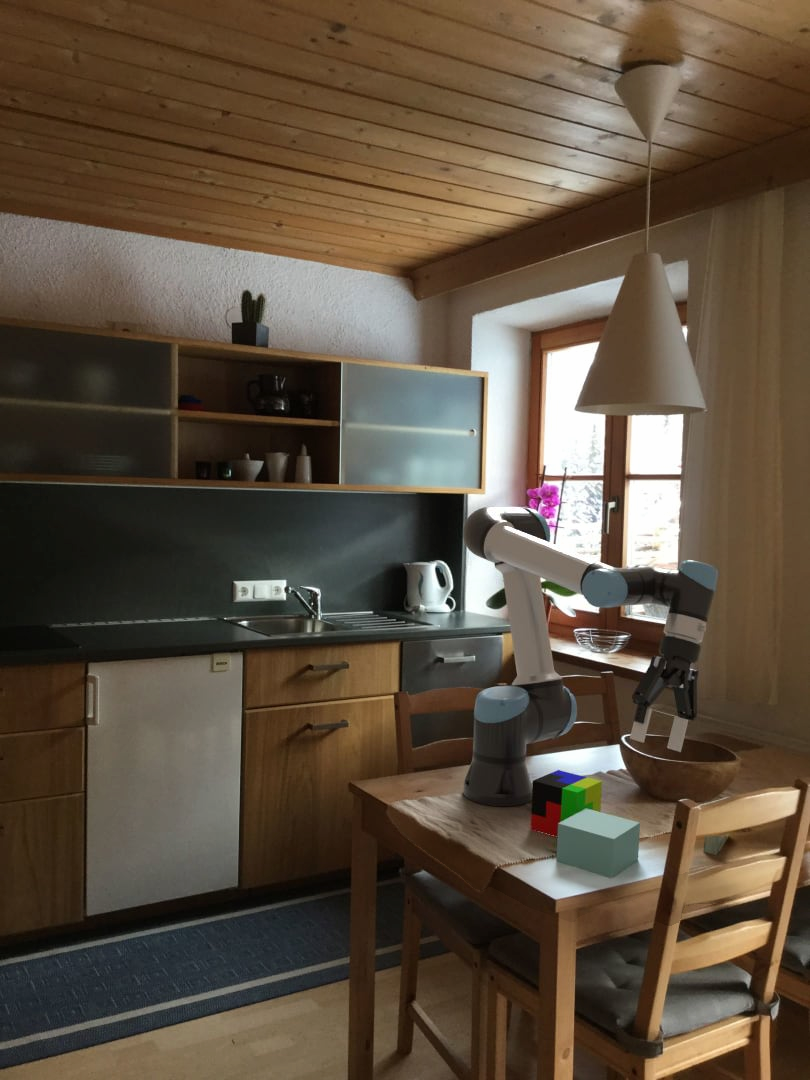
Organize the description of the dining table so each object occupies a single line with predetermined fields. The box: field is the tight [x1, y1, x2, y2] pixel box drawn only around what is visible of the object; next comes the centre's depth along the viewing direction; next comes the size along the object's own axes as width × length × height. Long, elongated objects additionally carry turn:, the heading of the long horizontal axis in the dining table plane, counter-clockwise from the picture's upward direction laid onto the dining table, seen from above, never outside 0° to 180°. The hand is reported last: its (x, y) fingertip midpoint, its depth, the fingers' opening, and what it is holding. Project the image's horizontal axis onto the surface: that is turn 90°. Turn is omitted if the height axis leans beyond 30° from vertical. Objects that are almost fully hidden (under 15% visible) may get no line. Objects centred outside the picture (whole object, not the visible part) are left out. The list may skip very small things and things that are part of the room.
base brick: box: [556, 809, 641, 879], centre depth 172 cm, size 11×11×7 cm
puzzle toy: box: [530, 769, 603, 838], centre depth 187 cm, size 10×10×10 cm
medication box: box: [703, 834, 730, 856], centre depth 182 cm, size 12×3×4 cm, turn 150°
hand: (655, 745), depth 181 cm, fingers open, 13 cm apart
